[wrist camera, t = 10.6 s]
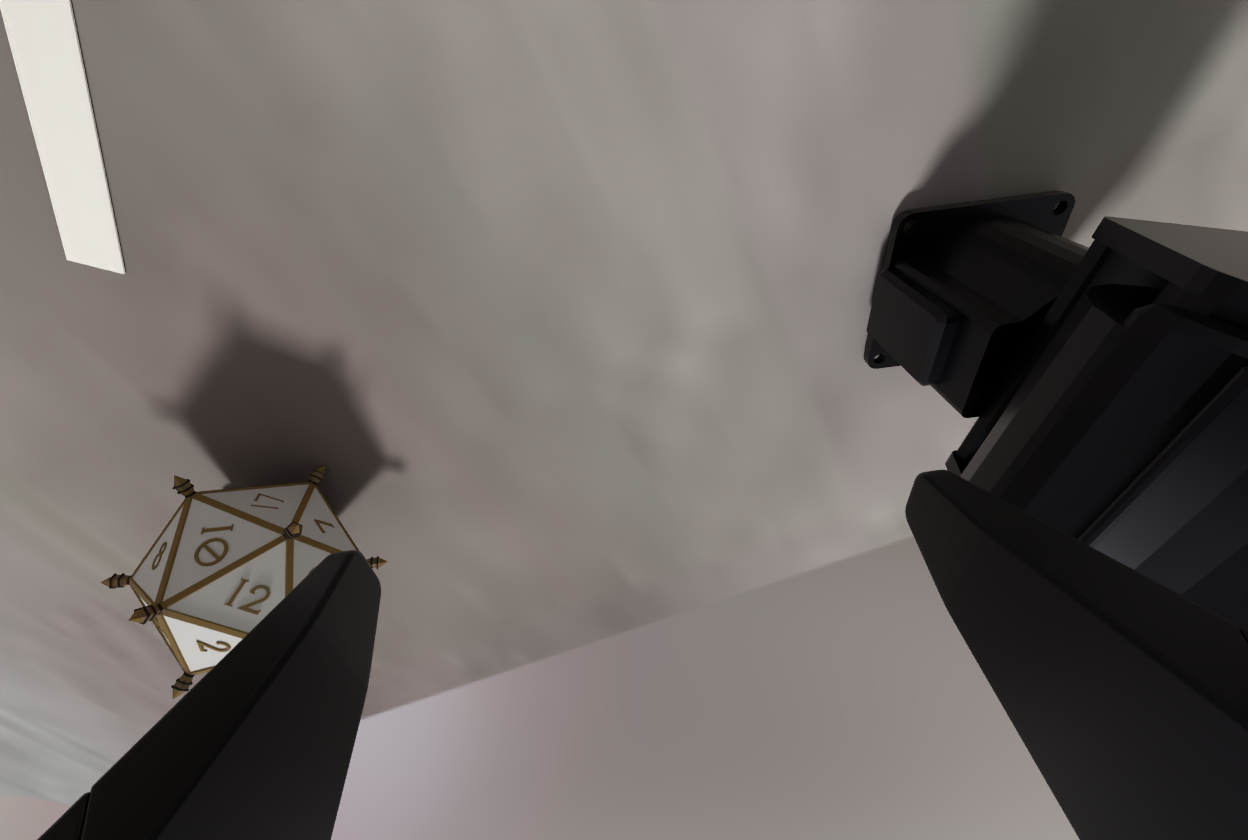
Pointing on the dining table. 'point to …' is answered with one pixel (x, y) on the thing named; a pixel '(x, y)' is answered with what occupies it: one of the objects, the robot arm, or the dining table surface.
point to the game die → (230, 565)
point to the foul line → (64, 127)
